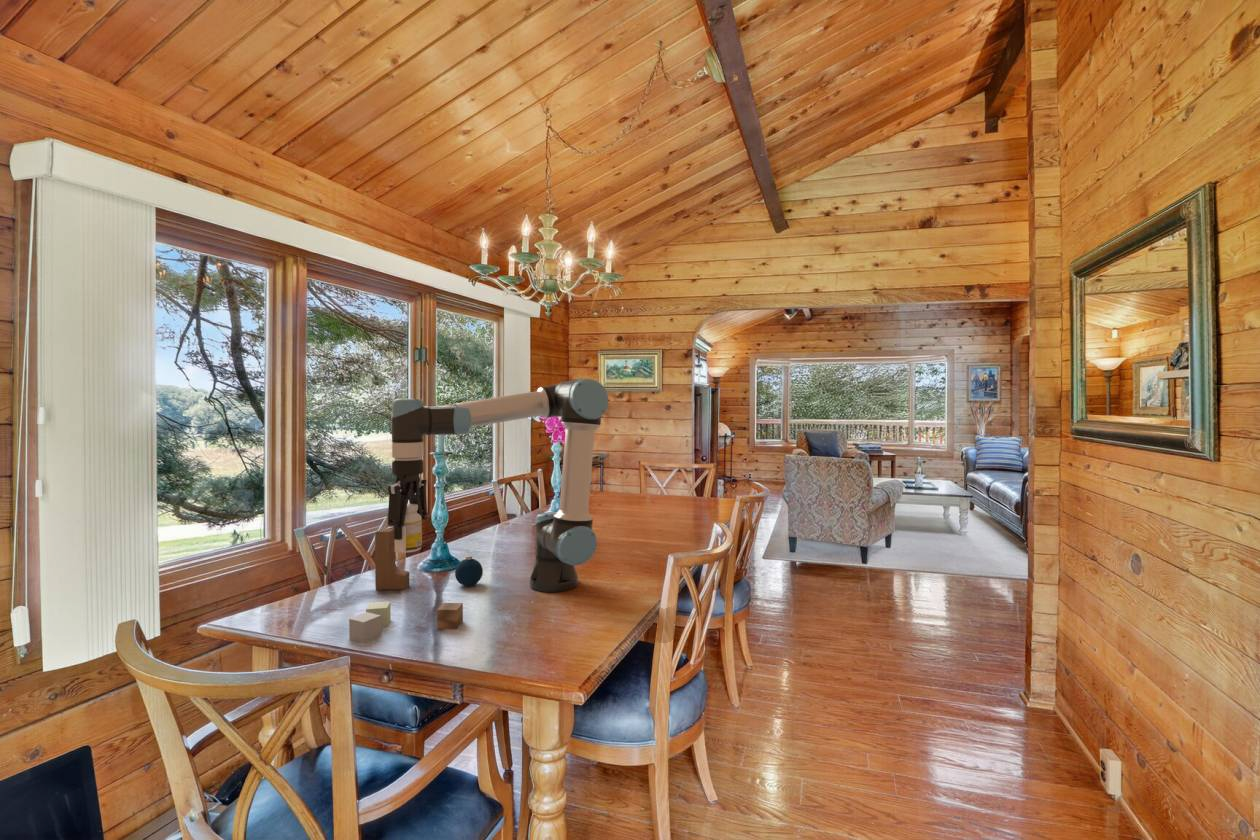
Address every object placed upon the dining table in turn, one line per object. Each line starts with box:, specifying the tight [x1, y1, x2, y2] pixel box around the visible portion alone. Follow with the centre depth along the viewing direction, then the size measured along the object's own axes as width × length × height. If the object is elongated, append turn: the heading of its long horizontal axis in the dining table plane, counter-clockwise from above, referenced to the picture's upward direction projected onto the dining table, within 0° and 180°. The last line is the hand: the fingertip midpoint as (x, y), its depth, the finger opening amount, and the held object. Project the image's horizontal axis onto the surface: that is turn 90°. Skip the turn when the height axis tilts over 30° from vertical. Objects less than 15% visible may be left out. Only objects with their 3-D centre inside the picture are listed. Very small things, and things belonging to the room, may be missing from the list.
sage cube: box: [365, 600, 392, 628], centre depth 147 cm, size 5×5×5 cm
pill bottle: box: [400, 503, 423, 554], centre depth 146 cm, size 6×6×12 cm
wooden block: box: [374, 528, 410, 591], centre depth 176 cm, size 9×4×18 cm, turn 92°
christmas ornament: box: [454, 554, 484, 587], centre depth 179 cm, size 8×8×10 cm
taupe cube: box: [348, 611, 382, 643], centre depth 139 cm, size 5×5×5 cm
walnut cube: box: [436, 602, 464, 630], centre depth 146 cm, size 5×5×5 cm
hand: (408, 548), depth 146 cm, fingers closed on pill bottle, 6 cm apart
